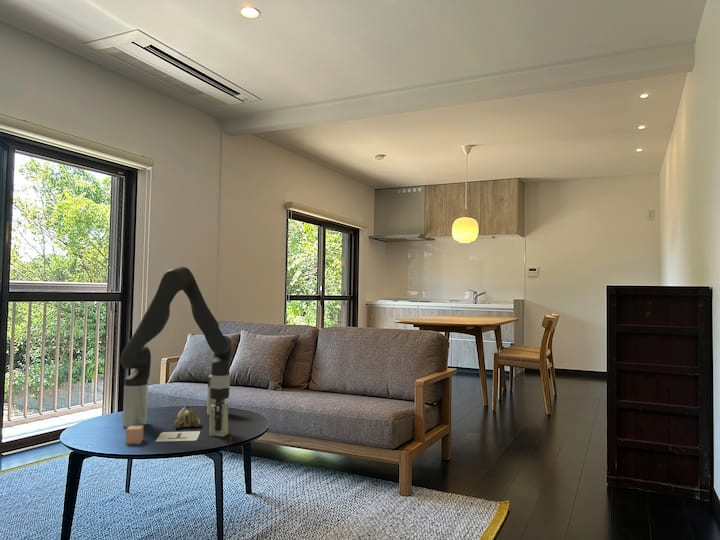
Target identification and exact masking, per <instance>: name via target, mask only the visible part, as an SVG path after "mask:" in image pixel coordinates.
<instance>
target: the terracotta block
mask: <svg viewBox="0 0 720 540" xmlns="http://www.w3.org/2000/svg"><path fill="white" fill-rule="evenodd" d="M143 440H144V425H142V426H129V427H128V428H127V427H126V429H125V445H129V444H130V445H132V444H133V445H134V444H141V443H142V442H143Z"/></svg>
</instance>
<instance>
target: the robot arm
mask: <svg viewBox="0 0 720 540" xmlns="http://www.w3.org/2000/svg"><path fill="white" fill-rule="evenodd" d="M180 291H183V293H184V294H185V295H186V296H187V298H188V301H189V303H190V307H191V313H192V317H193V319H194V321H195V323H196V325H197V326H198V328H199V330H200V332H202V334H203V336H204V339H205V340H206V343H207V345H208V347H209V348H210V350H211V351H212V353H213V359H212V363H211V368H210V369H211V370H210V371H211V372H210V375H211V380H210V379H209V380H210V398H211V399H216V402H215V403H214V415H215V419H214V420H215V431H220V430H221V420H222V415H223V411H222V412H221V409H222V406H224V405H226V401H225V402H224V399H225V400H226V399H229V398H230V388H231V387H230V385H231V383H230V382H231V379H230V369H231V368H230V367H231V366H230V360H231V357H232V356H231V355H232V347H233V346H232V339H230V337H229V336H227V335H225V334H223V333H222V331H221V330H220V324H219V323H218V321H217V319H216V318H215V316H214V315H213V313H212V312H211V310H210V308H209V306H208V305H207V303H206V301H205V298H204V296H203V295H202V292H201V290H200V288H199V285H198V283H197V280H196V278H195V276H194V275H193V272H192V271H191V270H190V269H189V268H188V267H186V266H179V267H175V268H171V269H168V270H167V271H165V273H164V274H163V275H162V277H161V280H160V282H159V284H158V288H157V290H156V293H155V295H154V296H153V299H152V300H151V301H150V304H149V305H148V307H147V309H146V311H145V313H144V315H143V317H142V319H141V320H140V323H139V325H138V326H137V328H136V330H135V332H134V333H133V335H132V336H131V338H130V339H129V341H128V342H127V343H126V345H125V347H124V348H123V350H122V352H121V354H120V359H119V362H120V365H121V367H122V368H123V369H126V370H134V371H133V372H132V373H131V374H130V375H127V376H126V377H125V378H124V380H123V383H124V384H123V403H122V405H123V408H122V409H123V410H122V427H124V428H126V429H127V428H128V427H129V426H144V425H147V414H148V413H147V412H148V409H147V408H148V388H149V387H148V386H149V385H148V382H149V380H150V379H149V378H150V375H151V374H150V373H151V363H152V355H151V350H150V348H149V347H148V346H146V345H147V344H149V342H151V341H152V340H153V339H155V337H157V336H158V335H159V334H160V333H161V332H163V330H164V328H165V327H166V326H167V324H168V321H169V319H170V314H171V303H172V302H173V300H174V298H175V297H176V295H177V294H178V293H179V292H180ZM217 415H220V418H217Z"/></svg>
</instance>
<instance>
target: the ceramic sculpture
mask: <svg viewBox="0 0 720 540" xmlns="http://www.w3.org/2000/svg"><path fill="white" fill-rule="evenodd" d="M176 418H177V419H175V420H174V422H173V427H174V428H176V429H181V428H186V427H187V428H189V427H193V426H194V427H195V428H196V427H197V428H198V427H200V426H201V419H200V418H198V417H197V415H196V413H195V411H193V409H192V408H191V406H187V405H185V406H184V407H183V408H181V409H180V411H178V413H177V415H176Z"/></svg>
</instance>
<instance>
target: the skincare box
mask: <svg viewBox="0 0 720 540" xmlns="http://www.w3.org/2000/svg"><path fill="white" fill-rule="evenodd" d="M222 411H223V415H222V420H221V430H220V431H215V420H214V419H215V415H214V405H211V406H210V415H209V429H208V430H209V434H208V435H209V436H212V437H225V436H227V435H228V434H229V404H225V405H224V406H222V409H221V412H222ZM217 418H220V415H217Z"/></svg>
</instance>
